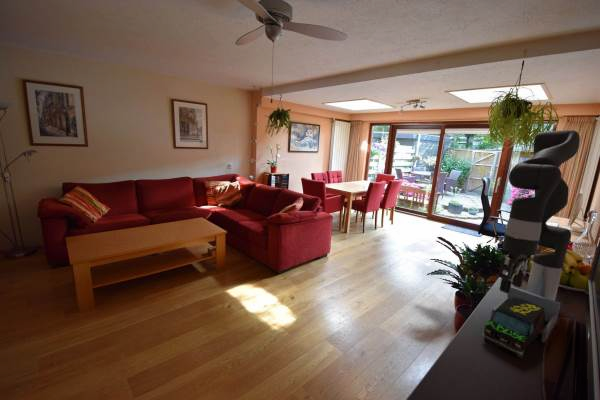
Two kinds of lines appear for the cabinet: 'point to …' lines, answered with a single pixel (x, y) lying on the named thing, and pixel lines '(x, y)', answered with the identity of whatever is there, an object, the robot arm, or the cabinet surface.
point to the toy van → (515, 325)
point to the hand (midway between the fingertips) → (510, 288)
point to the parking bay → (548, 305)
